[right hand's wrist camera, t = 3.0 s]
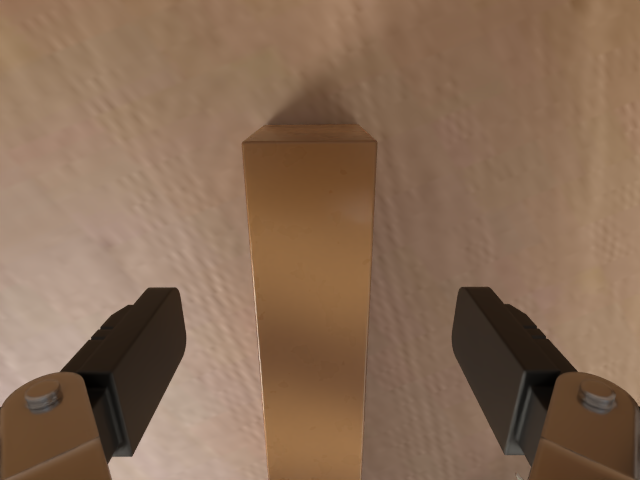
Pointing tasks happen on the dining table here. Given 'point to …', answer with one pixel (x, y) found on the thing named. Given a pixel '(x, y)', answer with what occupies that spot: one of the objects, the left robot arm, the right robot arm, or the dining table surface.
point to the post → (312, 292)
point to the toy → (519, 477)
